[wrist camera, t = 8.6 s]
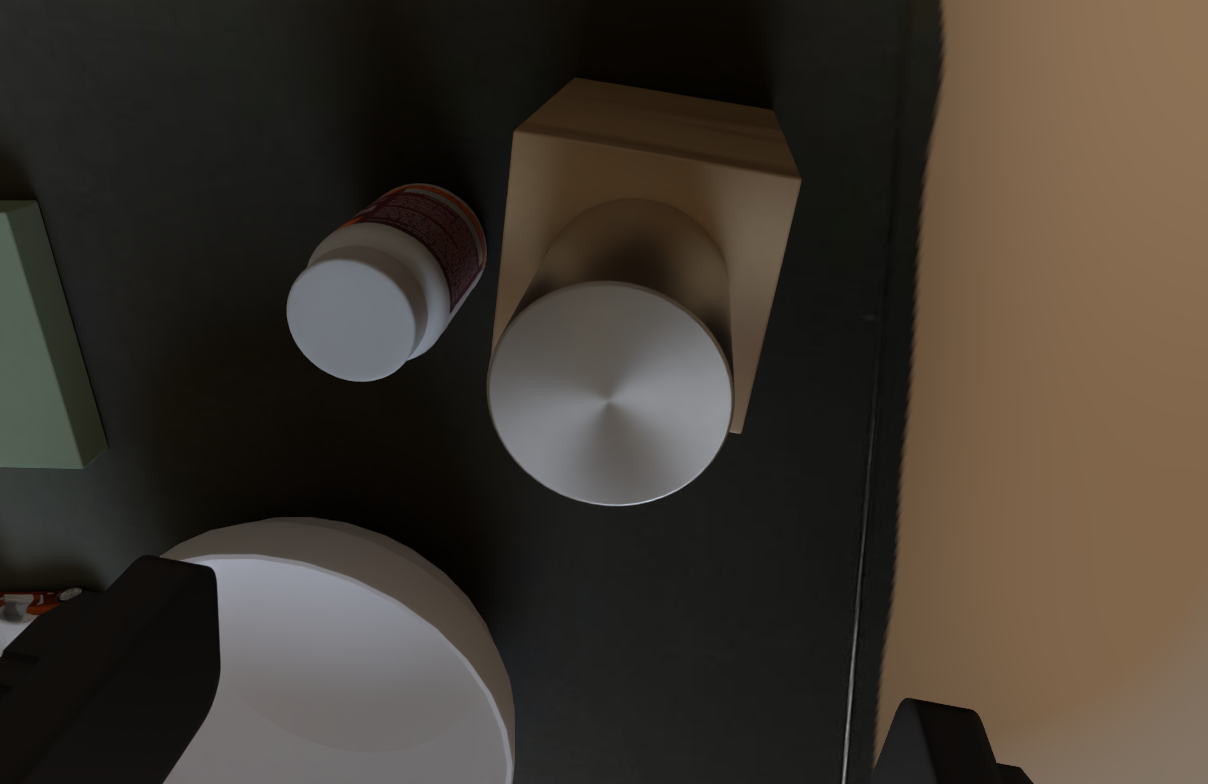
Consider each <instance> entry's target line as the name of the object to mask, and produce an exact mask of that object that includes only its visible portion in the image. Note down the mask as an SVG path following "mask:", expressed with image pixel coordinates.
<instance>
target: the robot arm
mask: <svg viewBox="0 0 1208 784" xmlns="http://www.w3.org/2000/svg"><path fill="white" fill-rule="evenodd" d="M220 671H221V660H220V637H219V615H218V593H217V578H216V574H215V572H214V570H213V569H212V568H211V567H209V566H205V565H200V564H195V563H189V562H184V561H178V560H173V559H168V558H162V557H157V556H151V555H144V556H141V557H140V558H138V559H137V560H135V561H134V562H133V563H132V564H131V565H130V566H129V567H128V568H127V569H126V570H125V571H124V573H123V574H122V575H121V576H120V577H119V578H118V579H117V580H116V581H115V582H114V583H113V584H112V585H111V586H110V587H109V588H108V589H107V590H106V591H105V592H104V593H97V592H92V591H86V590H85V591H83V592H81V593H80V594H78V595H76V596H74V597H72V598H70V599H69V600H67V601H65V602H63V603H61V604H59V605H58V606H56V607H54V608H52V609H50V610H48V611H46V612H45V613H43V614H41V615H39V616H38V617H37V618H36V619H34V620H33V621H32V622H31V623H30V624H29V625H28V626H27V627H26V628H25V629H24V630H23V631H22V632H21V633H20V634H19V635H18V636H17V637H16V638H15V639H14V640H13V641H12V642H11V643H10V644H9V645H8V646H7V647H6V648H5V649H4V650H3V654H2V656H1V657H0V784H163V783H164V781H165V780H166V778H167V777H168V775H169V774H170V772H171V771H172V769H173V768H174V766H175V765H176V763H177V762H178V760H179V759H180V757H181V756H182V754H183V753H184V751H185V750H186V748H187V747H188V745H189V744H190V742H191V741H192V739H193V738H194V736H195V735H196V733H197V732H198V730H199V729H200V727H201V726H202V724H203V723H204V721H205V719H206V717H207V715H208V713H209V711H210V709H211V707H212V704H213V701H214V699H215V696H216V692H217V689H218V684H219V679H220ZM869 784H1033V782H1032V781H1031V780H1030V779H1029V777H1028V776H1027V775H1026V774H1025V773H1024V771H1023V770H1022V769H1021V768H1020V767H1016V766H1010V765H1005V764H1000V763H996V760H995V757H994V754H993V752H992V749H991V746H990V743H989V740H988V738H987V735H986V732H985V729H984V726H983V724H982V721H981V719H980V717H979V715H978V714H977V713H976V712H975V711H974V710H971V709H966V708H960V707H955V706H950V705H944V704H939V703H933V702H928V701H922V700H917V699H912V698H905V699H904V700H903V701H902V702H901V703H900V705H899V707H898V709H897V711H896V713H895V716H894V719H893V721H892V724H891V727H890V730H889V732H888V735H887V737H886V740H885V743H884V745H883V748H882V751H881V753H880V756H879V759H878V761H877V764H876V767H875V769H874V772H873V775H872V777H871V780H870V783H869Z"/></svg>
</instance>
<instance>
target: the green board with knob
mask: <svg viewBox="0 0 1208 784" xmlns="http://www.w3.org/2000/svg"><path fill="white" fill-rule="evenodd" d="M107 449H108V445H107V441H106V438H105V434H104V431H103V427H102V424H101V420H100V417H99V413H98V410H97V407H96V403H95V400H94V396H93V393H92V389H91V386H90V382H89V379H88V375H87V372H86V368H85V365H84V361H83V358H82V354H81V351H80V348H79V344H78V341H77V337H76V334H75V330H74V327H73V323H72V320H71V316H70V313H69V309H68V306H67V302H66V299H65V295H64V292H63V289H62V285H61V282H60V278H59V275H58V271H57V268H56V264H55V261H54V257H53V254H52V250H51V247H50V243H49V240H48V237H47V233H46V230H45V226H44V223H43V219H42V216H41V212H40V209H39V205H38V202H37V201H35V200H11V201H0V467H28V468H65V469H83V468H85V467H86V466H87V465H88V464H90V463H91V462H92V461H93V460H95V459H96V458H97V457H98V456H100V455H101V454H102V453H103V452H104V451H106V450H107Z"/></svg>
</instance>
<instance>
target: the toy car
mask: <svg viewBox="0 0 1208 784" xmlns="http://www.w3.org/2000/svg"><path fill="white" fill-rule="evenodd" d="M83 591H85V589H84V588H82V587H73V588H70V589H67V590H65V591H51V592H0V657H1V656H2V654H3V650H4V649H5V648H6V647H7V646H8V645H9V644H10V643H11V642H12V641H13V640H14V639H15V638H16V637H17V636H18V635H19V634H20V633H21V632H22V631H23V630H24V629H25V628H26V627H27V626H28V625H29V624H30V623H31V622H32V621H33V620H34V619H36V618H37V617H38V616H39V615H41V614H43V613H45V612H46V611H48V610H50V609H52V608H54V607H56V606H58V605H59V604H61V603H63V602H65V601H67V600H69V599H70V598H72V597H74V596H76V595H78V594H80V593H81V592H83Z"/></svg>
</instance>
